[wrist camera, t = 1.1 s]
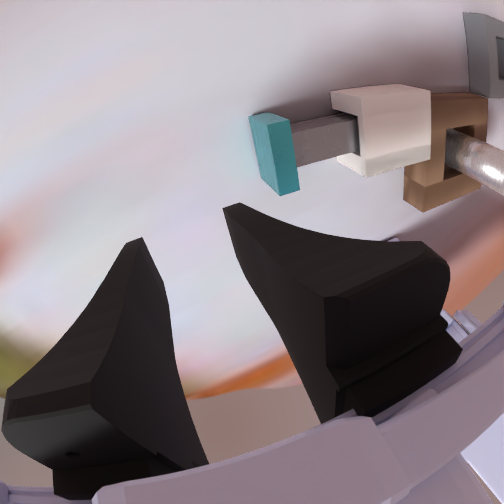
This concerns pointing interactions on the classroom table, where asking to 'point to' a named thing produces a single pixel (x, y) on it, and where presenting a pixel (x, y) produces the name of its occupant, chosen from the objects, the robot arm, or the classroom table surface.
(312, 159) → the key
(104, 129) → the classroom table surface
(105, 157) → the classroom table surface
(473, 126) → the socket block
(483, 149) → the steel peg
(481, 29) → the block
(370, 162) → the block
